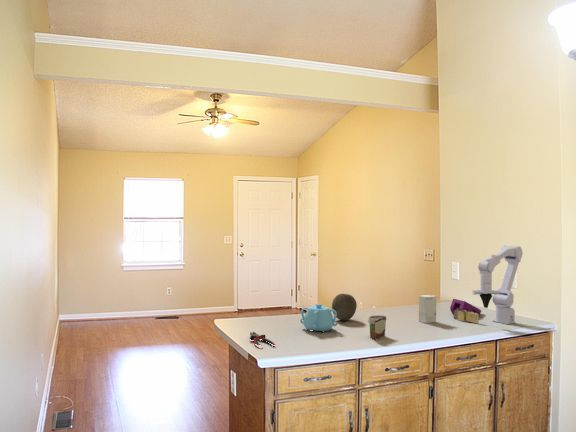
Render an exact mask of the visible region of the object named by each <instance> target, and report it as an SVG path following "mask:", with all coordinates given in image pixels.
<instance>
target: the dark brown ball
mask: <svg viewBox="0 0 576 432" xmlns="http://www.w3.org/2000/svg"><path fill="white" fill-rule="evenodd" d="M331 309H333V310H335V311H336V312H337V316H336V319H338V320H339V321H342V322H346V321H349V320H350V319H352V318H353V317H354V316H355V314H356V312H357V300H356V299H355V297H354V296H353V295H351V294H348V293H339V294H338V295H336V296H334V298H333V299H332V302H331ZM332 315H334V316H335V313H334V312H333V311H332Z"/></svg>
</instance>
